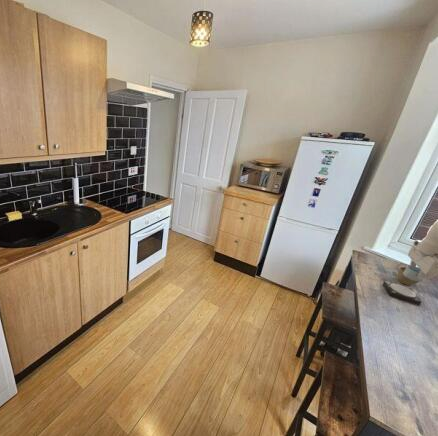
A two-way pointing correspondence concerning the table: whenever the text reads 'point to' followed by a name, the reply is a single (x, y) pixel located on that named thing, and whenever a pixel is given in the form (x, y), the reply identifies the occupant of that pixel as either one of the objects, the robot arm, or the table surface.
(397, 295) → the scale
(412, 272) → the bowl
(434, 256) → the robot arm
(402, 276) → the flower pot
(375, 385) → the table surface
